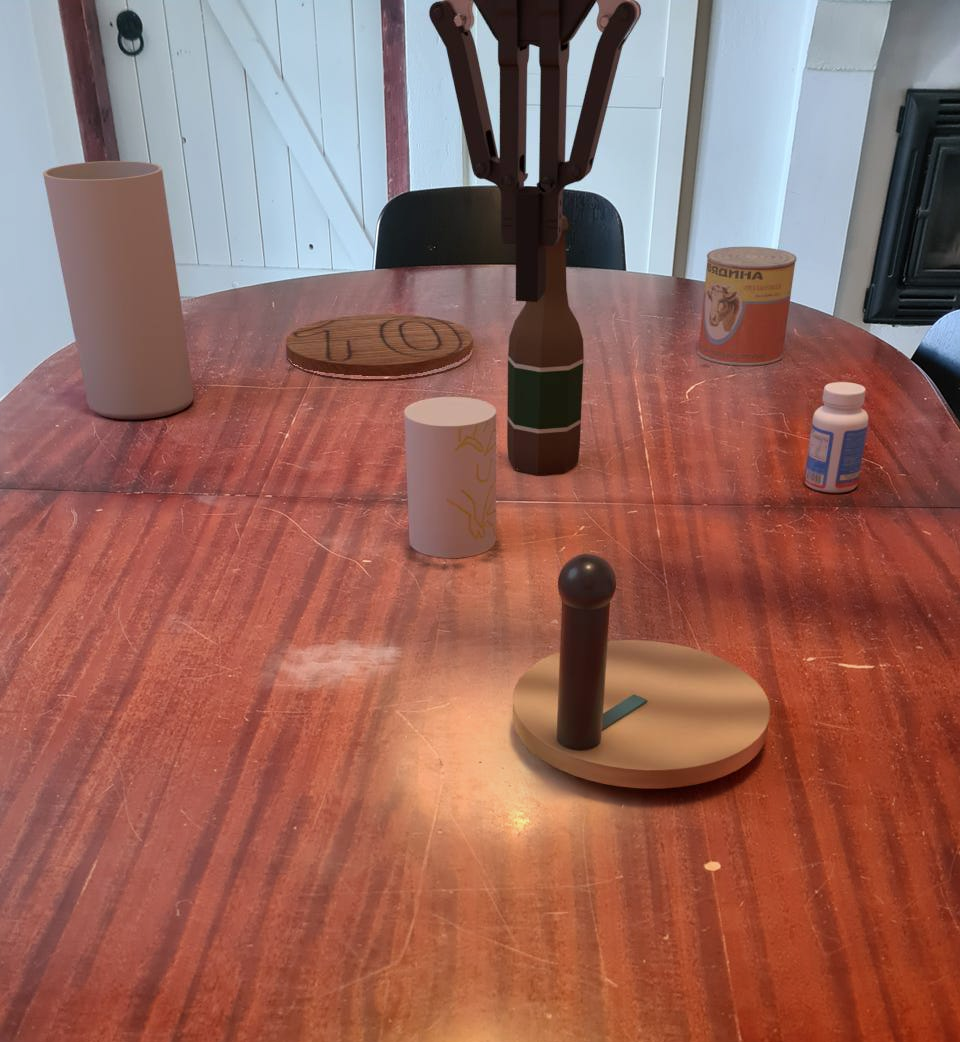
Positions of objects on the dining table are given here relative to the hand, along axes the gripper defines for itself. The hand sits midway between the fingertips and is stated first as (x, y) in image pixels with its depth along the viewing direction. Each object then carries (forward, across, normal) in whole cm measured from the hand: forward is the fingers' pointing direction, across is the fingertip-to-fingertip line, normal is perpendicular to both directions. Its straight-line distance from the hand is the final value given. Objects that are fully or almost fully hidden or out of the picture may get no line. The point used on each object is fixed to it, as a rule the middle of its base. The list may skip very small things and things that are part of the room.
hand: (530, 296), depth 84 cm
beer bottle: (+26, +7, -40) cm, 48 cm away
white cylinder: (+26, +11, -18) cm, 34 cm away
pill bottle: (+26, -23, -41) cm, 54 cm away
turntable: (+25, -11, +12) cm, 30 cm away
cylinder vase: (+26, +58, -48) cm, 80 cm away
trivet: (+26, +37, -76) cm, 88 cm away
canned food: (+26, -10, -87) cm, 91 cm away
